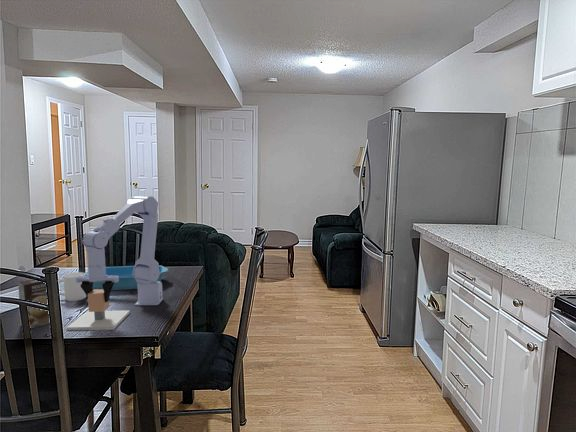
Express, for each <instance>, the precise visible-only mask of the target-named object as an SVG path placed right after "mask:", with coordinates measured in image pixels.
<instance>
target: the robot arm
mask: <svg viewBox="0 0 576 432" xmlns="http://www.w3.org/2000/svg"><path fill="white" fill-rule="evenodd" d="M158 208H159V202H158V201H157V199H156V198H155V197H154V196H143V195H141V196H140V195H133V196H131V197H130V198H129V199H127V200H126V203H125V204H124V205H123V207H122V208H121V209H120V210H119V211H118V212H117V213H116V214H115V215H114V216H113V217H107V218H104V219H103V220H102V221H103V222H101V223H100V224H99V225H98V226H96V227H94V228H93V230H92V231H88V232H86V233H85V235H84V237H83V239H82V240H81V242H82V244H83V246H84V247H85V251H86V256H87V258H86V259H87V272H88V276H78V277H76V283H79V282H82V284H81V285H80V286H81V288H82V289H83V290H84V292H85V294H86V299H87V300H88V293H90V292H91V291H93V290H94V288H93V282H105V283H104V284H102V286H103V290H104V300H105V302H108V301H109V302H110V295H111V292H112V290H111V289H112V287H113V285H114V282H118V281H119V276H112V275H106V267H107V266H106V255H105V253H106V251H105V247H107V245H108V242H109V240H110V238H112V236H114V235H115V233H117V232H118V231H119V230H120V227H121V226H120V225H121V224H122V223H123V222H125V221H126V220H127V219H128V218H130V217H131V216H132V215H134V214H137V215H139V216H140V217H141V218H142V219H143V225H142V234H141V244H140V255H139V258H138V259H137V260H136V261H135V262H134V263H135V264H134V266H135V267H134V269H133V277H134V278H135V279H136V282H137V287H138V289H137V301H136V303H134V306H158V305H160V303H161V302H162V301H163V300H164V298H163V297H164V296H163V295H164V294H163V283H162V281H157V279H158V278H159V275H160V271H159V261H157V260H156V259H155V252H156V242H157V241H156V240H157V230H158V221H159V220H158V219H159V213H158V210H159V209H158ZM146 265H148V266H146Z"/></svg>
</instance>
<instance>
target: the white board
mask: <svg viewBox="0 0 576 432" xmlns="http://www.w3.org/2000/svg"><path fill="white" fill-rule="evenodd" d="M129 314H131V311H130V310H105V311H104V312H89V310H87V311H85V313H83V314H82V315H81V316H80V317H78V318H77V319H75V320H74V321H73V322H72V323H70V324H69V325H68V326H66V331H102V330H103V331H104V330H106V331H107V330H108V331H110V330H112V331H113V330H114V329H116V328H117V327H118V326H119V325H120V324H121V323H122V322H123V320H125V319H126V318H127V316H129Z"/></svg>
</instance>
